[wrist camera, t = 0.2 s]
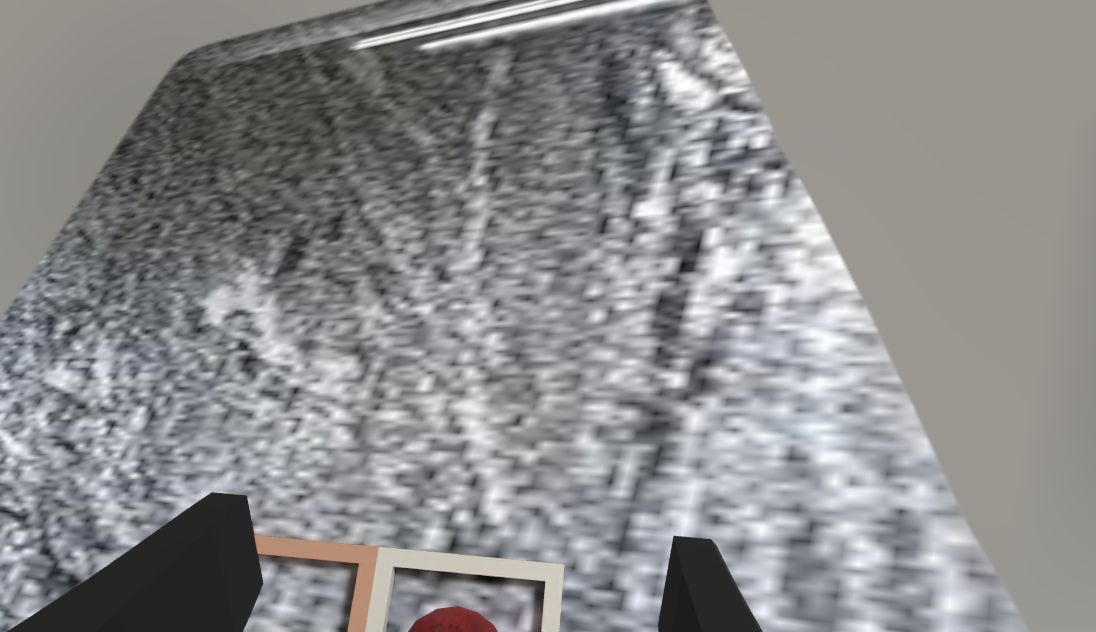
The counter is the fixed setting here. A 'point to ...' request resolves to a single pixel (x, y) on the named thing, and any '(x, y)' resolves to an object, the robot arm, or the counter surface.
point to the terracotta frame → (332, 553)
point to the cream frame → (461, 564)
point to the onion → (453, 621)
